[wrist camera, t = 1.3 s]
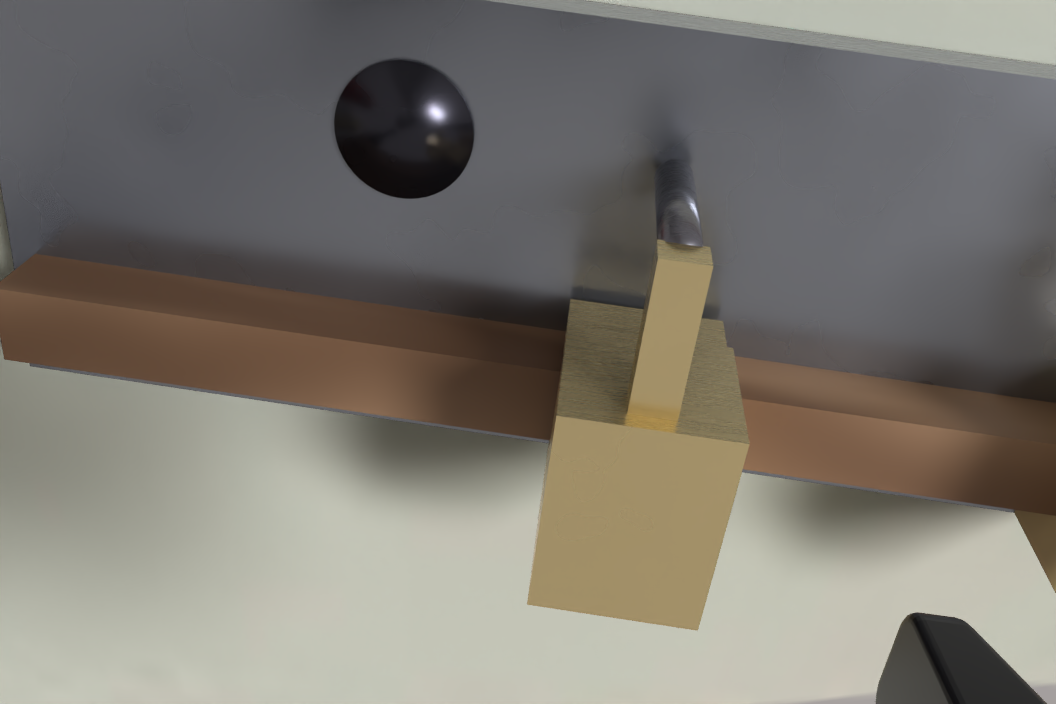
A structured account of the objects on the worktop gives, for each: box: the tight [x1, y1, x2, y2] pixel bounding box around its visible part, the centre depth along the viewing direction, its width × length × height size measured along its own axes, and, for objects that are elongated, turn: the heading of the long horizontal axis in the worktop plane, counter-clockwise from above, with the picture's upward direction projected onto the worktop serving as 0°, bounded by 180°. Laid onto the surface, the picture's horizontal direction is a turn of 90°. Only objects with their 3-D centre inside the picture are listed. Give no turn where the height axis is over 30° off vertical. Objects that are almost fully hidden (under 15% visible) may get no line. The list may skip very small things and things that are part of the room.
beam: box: [0, 254, 1056, 593], centre depth 18 cm, size 7×25×5 cm, turn 83°
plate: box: [0, 0, 1056, 512], centre depth 20 cm, size 9×26×1 cm, turn 83°
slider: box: [527, 159, 750, 630], centre depth 18 cm, size 7×3×5 cm, turn 174°
